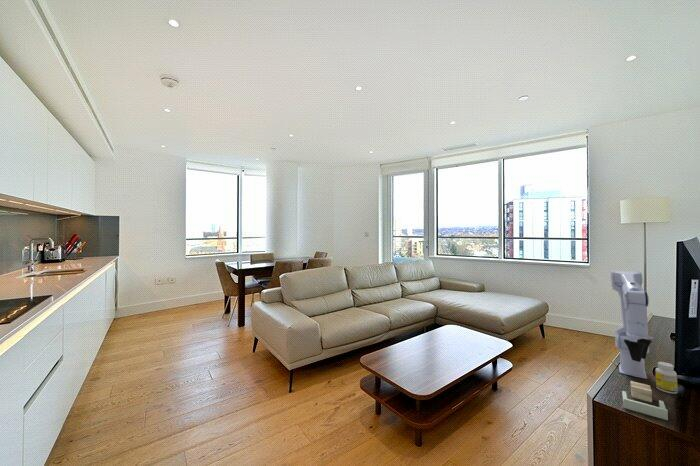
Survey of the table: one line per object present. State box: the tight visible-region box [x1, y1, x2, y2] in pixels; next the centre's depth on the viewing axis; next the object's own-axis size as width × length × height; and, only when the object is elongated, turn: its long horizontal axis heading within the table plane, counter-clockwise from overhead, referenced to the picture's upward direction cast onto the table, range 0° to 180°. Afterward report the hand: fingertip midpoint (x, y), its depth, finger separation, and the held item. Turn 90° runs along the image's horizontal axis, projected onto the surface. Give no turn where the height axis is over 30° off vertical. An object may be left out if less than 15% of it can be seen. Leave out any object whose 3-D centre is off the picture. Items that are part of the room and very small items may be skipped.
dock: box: [621, 390, 669, 421], centre depth 94 cm, size 9×10×3 cm
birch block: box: [630, 380, 653, 403], centre depth 101 cm, size 5×5×4 cm
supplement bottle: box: [654, 361, 679, 395], centre depth 105 cm, size 5×5×10 cm
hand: (638, 359), depth 104 cm, fingers open, 7 cm apart
